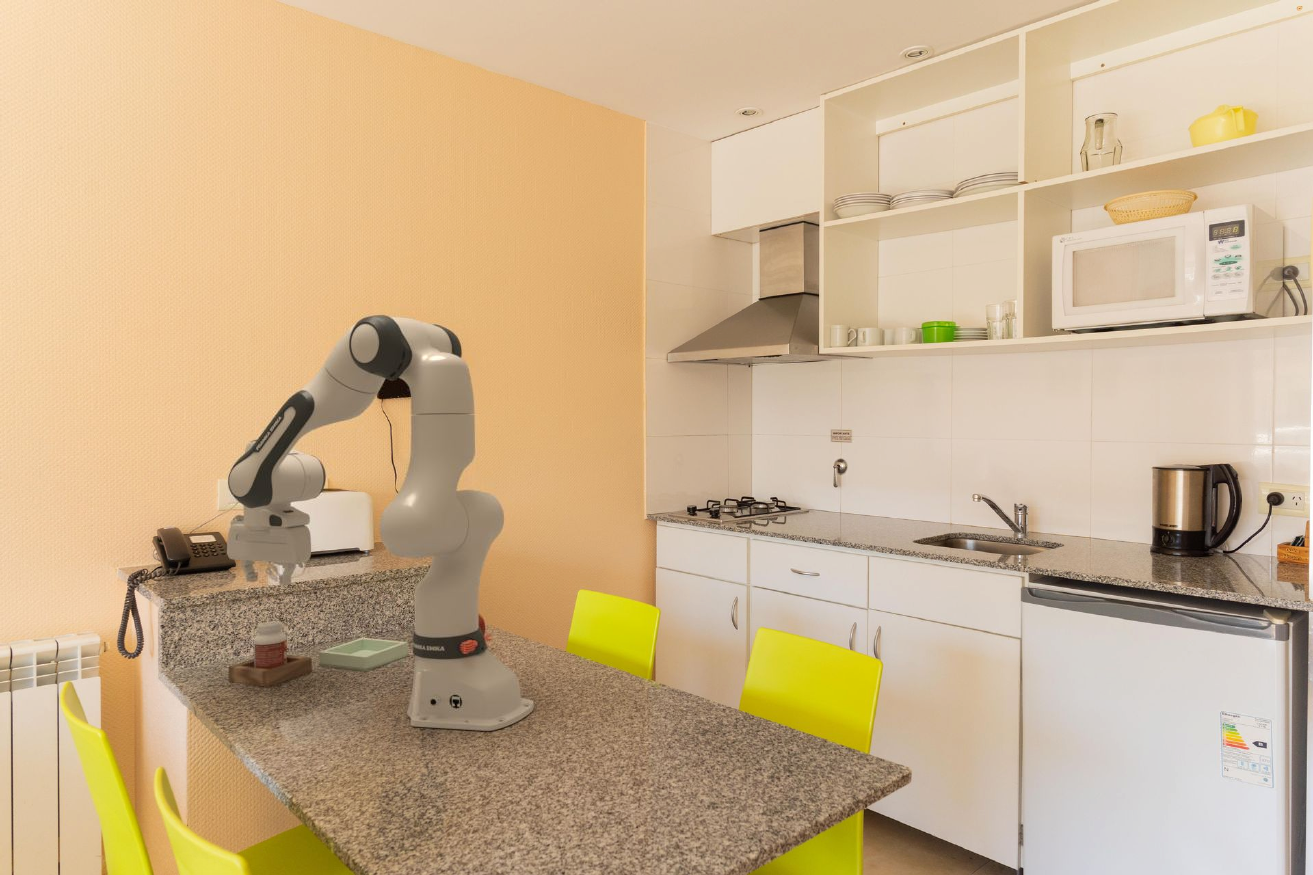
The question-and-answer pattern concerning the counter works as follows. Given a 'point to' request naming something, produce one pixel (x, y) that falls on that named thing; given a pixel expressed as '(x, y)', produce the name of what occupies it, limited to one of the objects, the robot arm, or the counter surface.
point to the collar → (270, 672)
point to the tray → (363, 654)
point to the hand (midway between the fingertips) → (268, 582)
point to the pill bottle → (270, 646)
